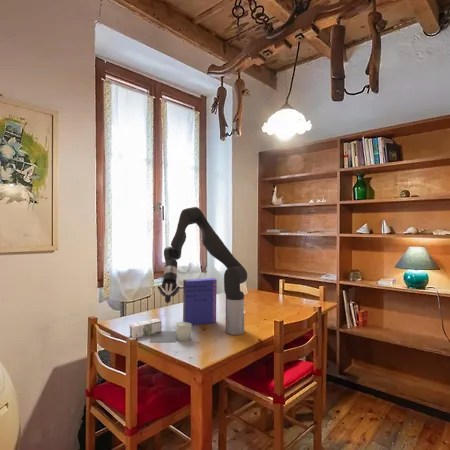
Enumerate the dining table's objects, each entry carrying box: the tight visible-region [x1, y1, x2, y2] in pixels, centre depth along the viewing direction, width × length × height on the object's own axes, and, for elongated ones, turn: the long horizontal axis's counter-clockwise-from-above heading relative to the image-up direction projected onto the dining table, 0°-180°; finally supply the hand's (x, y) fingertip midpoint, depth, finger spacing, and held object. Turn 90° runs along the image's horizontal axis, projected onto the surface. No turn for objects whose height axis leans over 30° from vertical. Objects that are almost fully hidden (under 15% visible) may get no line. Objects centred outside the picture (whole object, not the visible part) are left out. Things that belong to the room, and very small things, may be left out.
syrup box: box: [129, 318, 162, 339], centre depth 168 cm, size 6×6×14 cm
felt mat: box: [149, 330, 178, 343], centre depth 164 cm, size 12×15×1 cm
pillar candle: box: [175, 321, 193, 343], centre depth 162 cm, size 7×7×7 cm
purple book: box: [182, 277, 218, 326], centre depth 187 cm, size 17×5×24 cm, turn 111°
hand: (167, 302), depth 184 cm, fingers closed
